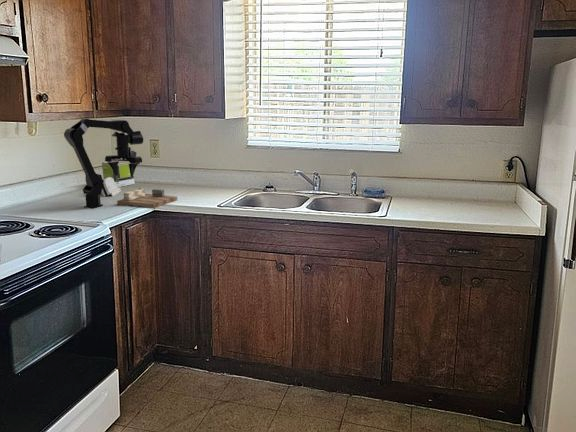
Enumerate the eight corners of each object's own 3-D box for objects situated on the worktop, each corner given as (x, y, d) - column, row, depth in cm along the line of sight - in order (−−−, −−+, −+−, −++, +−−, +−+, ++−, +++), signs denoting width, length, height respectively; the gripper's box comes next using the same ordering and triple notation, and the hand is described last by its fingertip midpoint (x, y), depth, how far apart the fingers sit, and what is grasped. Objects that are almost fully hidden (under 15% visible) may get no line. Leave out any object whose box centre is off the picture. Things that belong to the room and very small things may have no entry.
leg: (140, 195, 280) (140, 187, 279) (145, 195, 279) (144, 187, 278) (124, 200, 268) (123, 192, 267) (129, 200, 267) (128, 192, 266)
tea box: (124, 182, 331) (122, 158, 327) (135, 184, 325) (133, 160, 322) (103, 186, 319) (101, 161, 315) (114, 188, 313) (112, 163, 310)
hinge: (112, 196, 289) (105, 179, 287) (104, 199, 289) (96, 182, 287) (121, 190, 305) (113, 174, 303) (113, 193, 306) (106, 177, 303)
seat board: (154, 208, 261) (153, 196, 260) (117, 204, 269) (116, 193, 268) (177, 200, 279) (176, 189, 278) (142, 197, 287) (141, 186, 286)
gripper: (147, 144, 275) (149, 175, 278) (117, 143, 281) (119, 173, 285) (134, 146, 265) (136, 178, 268) (103, 145, 271) (105, 175, 274)
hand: (124, 176), depth 274 cm, fingers open, 9 cm apart
